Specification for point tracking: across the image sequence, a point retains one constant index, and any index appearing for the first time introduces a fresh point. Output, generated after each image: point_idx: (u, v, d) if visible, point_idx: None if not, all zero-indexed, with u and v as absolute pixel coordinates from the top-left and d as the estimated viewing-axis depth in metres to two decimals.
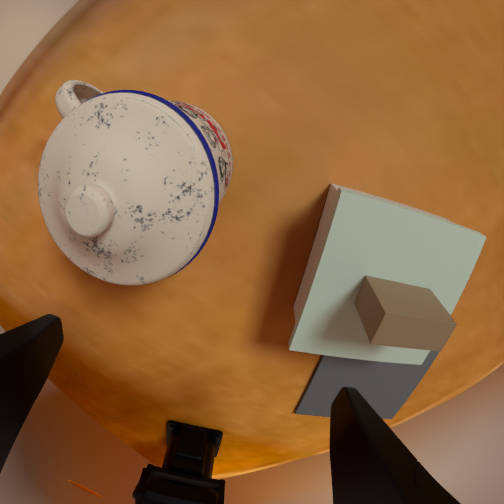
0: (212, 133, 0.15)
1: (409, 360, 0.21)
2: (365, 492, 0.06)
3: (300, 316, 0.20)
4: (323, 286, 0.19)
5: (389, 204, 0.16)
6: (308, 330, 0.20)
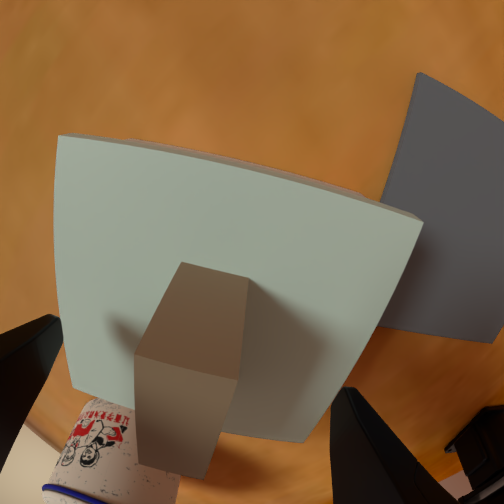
0: (73, 444, 0.15)
1: (396, 262, 0.09)
2: (365, 492, 0.06)
3: None
4: None
5: (65, 341, 0.11)
6: (268, 430, 0.12)
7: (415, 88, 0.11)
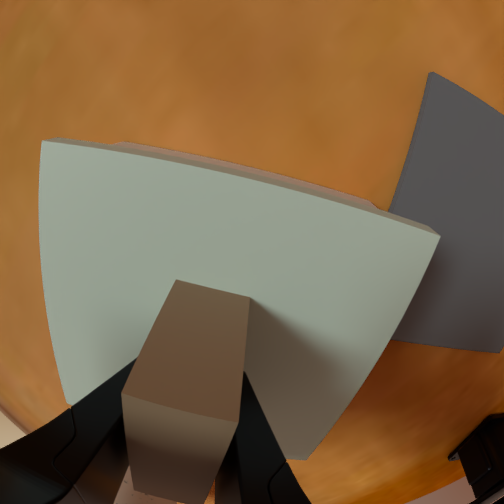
0: None
1: (410, 279, 0.08)
2: (226, 486, 0.05)
3: None
4: None
5: None
6: None
7: (427, 88, 0.10)
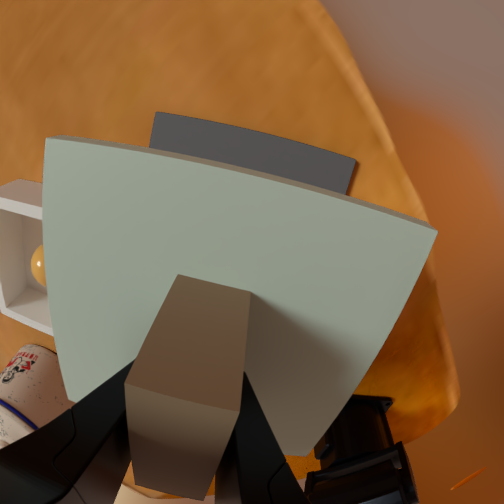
0: (2, 372, 0.22)
1: (408, 274, 0.08)
2: (226, 486, 0.05)
3: None
4: None
5: (59, 353, 0.10)
6: None
7: (154, 124, 0.17)
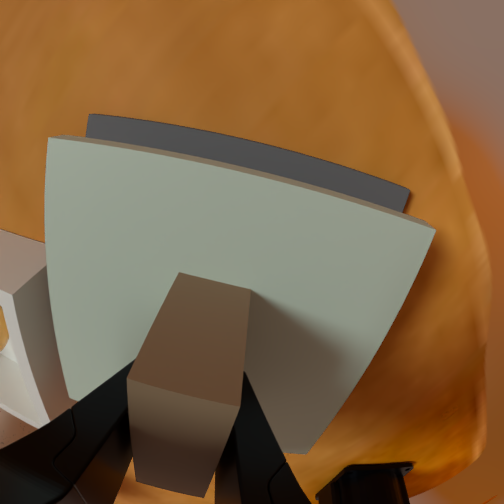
0: None
1: (407, 272, 0.08)
2: (226, 486, 0.05)
3: None
4: None
5: (60, 351, 0.10)
6: None
7: None
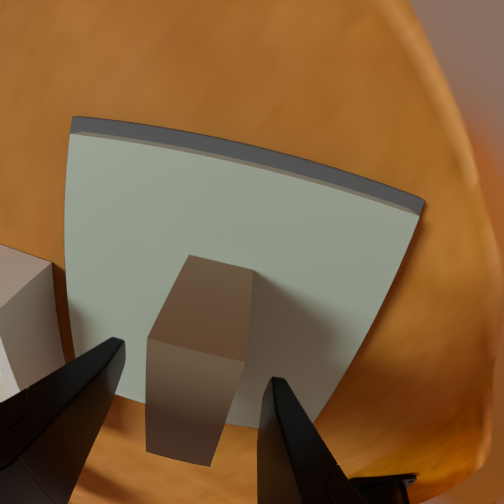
0: None
1: (394, 254, 0.09)
2: (278, 492, 0.06)
3: None
4: None
5: (73, 334, 0.11)
6: None
7: None
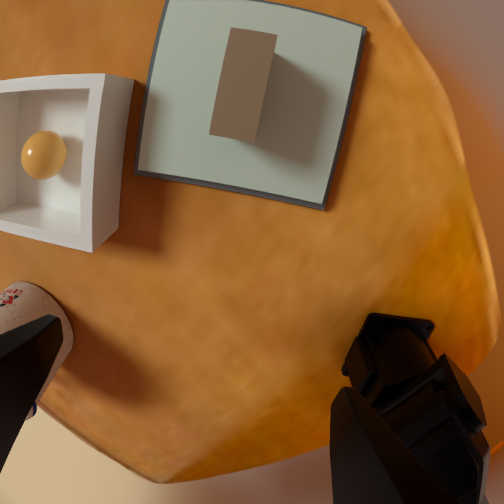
0: None
1: (352, 46, 0.14)
2: (365, 492, 0.06)
3: None
4: (235, 173, 0.18)
5: (145, 120, 0.16)
6: (293, 184, 0.18)
7: None
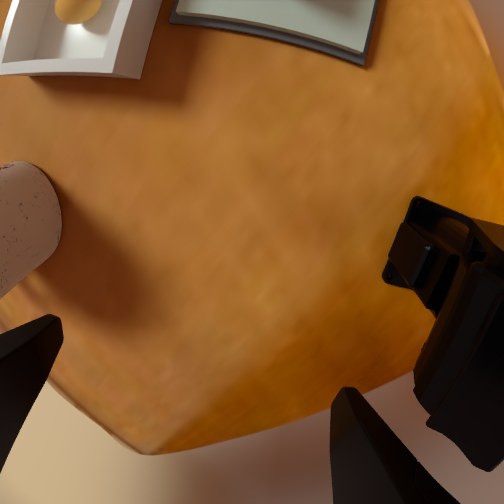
0: None
1: None
2: (365, 492, 0.06)
3: (316, 37, 0.15)
4: (276, 15, 0.14)
5: None
6: (334, 30, 0.14)
7: None
